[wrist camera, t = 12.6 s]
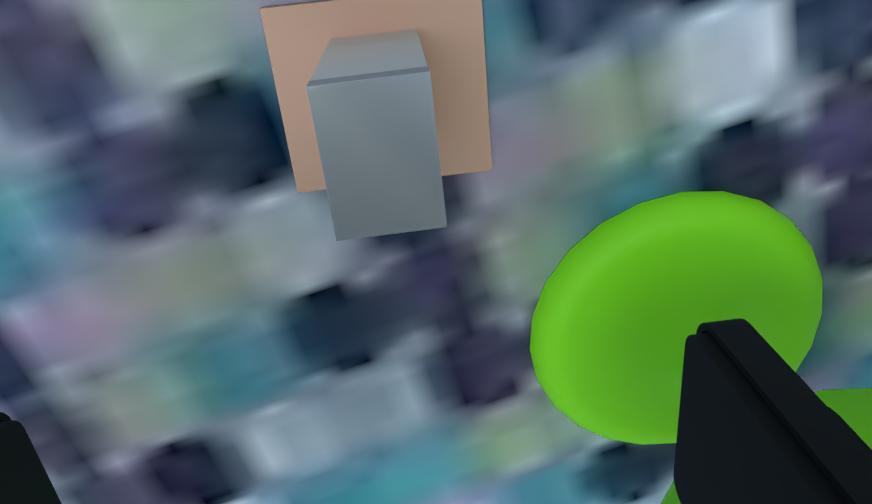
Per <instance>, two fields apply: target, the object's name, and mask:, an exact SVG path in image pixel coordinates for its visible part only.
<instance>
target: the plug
mask: <svg viewBox="0 0 872 504" xmlns="http://www.w3.org/2000/svg"><path fill="white" fill-rule="evenodd" d="M306 88H307V94H308V99H309V104H310V109H311V114H312V119H313V124H314V129H315V134H316V139H317V144H318V149H319V154H320V160H321V165H322V170H323V175H324V180H325V185H326V190H327V195H328V200H329V205H330V210H331V215H332V220H333V226H334V231H335V236H336V241H341V240H348V239H356V238H364V237H372V236H380V235H388V234H395V233H403V232H411V231H419V230H427V229H435V228H442V227H447V221H446V212H445V203H444V194H443V185H442V176H441V167H440V158H439V149H438V140H437V131H436V122H435V113H434V104H433V95H432V86H431V77H430V70H429V67H428V66H427V63H426V59H425V56H424V52H423V49H422V46H421V42H420V39H419V35H418V32H417V29H416V28H414V29H406V30H397V31H389V32H381V33H373V34H365V35H357V36H349V37H341V38H333V39H330V40H329V42H328V44H327V46H326V48H325V51H324V53H323V55H322V57H321V59H320V61H319V63H318V65H317V67H316V69H315V72H314V74H313V76H312V78H311V80H310V81H309V82H308V84H307V86H306Z"/></svg>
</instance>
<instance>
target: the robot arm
mask: <svg viewBox="0 0 872 504" xmlns="http://www.w3.org/2000/svg"><path fill="white" fill-rule="evenodd" d="M674 484H675V488H676V492H677V495H678V498H679V500H680V502H681V504H872V450H871V448H870V447H869V446H868V445H867V444H866V443H865V442H864V441H863V440H862V439H861V438H860V437H859V436H858V435H857V434H856V432H855V431H854V430H853V429H852V428H851V427H850V426H849V425H848V424H847V423H846V422H845V421H844V420H843V419H842V418H841V417H840V415H838V414H837V413H836V412H835V411H834V410H832V409H831V408H830V407H827V406H826V405H825V404H824V403H823V401H822V400H821V399H820V398H819V397H818V396H817V395H816V394H815V393H814V392H813V391H812V390H811V389H810V388H809V386H808V385H807V384H806V383H805V382H804V381H803V380H802V379H801V378H800V377H799V376H798V375H797V374H796V372H795V371H794V370H793V369H792V368H791V367H790V366H789V365H788V364H787V363H786V362H785V361H784V360H783V359H782V357H781V356H780V355H779V354H778V353H777V352H776V351H775V350H774V349H773V348H772V347H771V346H770V345H769V343H768V342H767V341H766V340H765V339H764V338H763V337H762V336H761V335H760V334H759V333H758V332H757V331H756V330H755V328H754V327H753V326H752V325H751V324H750V323H749V322H748V321H746V320H745V319H741V318H738V319H730V320H722V321H714V322H706V323H702V324H700V325H699V327H698V328H697V332H696V334H693V335H689V336H688V337H687V338H686V342H685V350H684V361H683V373H682V384H681V395H680V407H679V418H678V430H677V441H676V453H675V464H674ZM0 504H61V502H60V500H59V498H58V496H57V494H56V492H55V489H54V487H53V485H52V483H51V481H50V479H49V477H48V475H47V473H46V471H45V469H44V467H43V465H42V463H41V461H40V459H39V457H38V455H37V453H36V451H35V449H34V447H33V445H32V443H31V441H30V439H29V437H28V435H27V433H26V431H25V428H24V427H23V426H22V424H21V423H19V422H18V421H12V420H11V419H10V417H9V416H8V415H6V414H5V413H3V412H0Z"/></svg>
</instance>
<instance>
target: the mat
mask: <svg viewBox="0 0 872 504" xmlns="http://www.w3.org/2000/svg"><path fill="white" fill-rule="evenodd" d="M260 13H261V18H262V23H263V28H264V33H265V37H266V42H267V47H268V52H269V57H270V62H271V66H272V71H273V76H274V81H275V86H276V90H277V95H278V100H279V105H280V110H281V115H282V119H283V124H284V129H285V134H286V139H287V144H288V148H289V153H290V158H291V163H292V168H293V173H294V177H295V182H296V187H297V192H298V193H300V192H309V191H317V190H326V185H325V180H324V175H323V170H322V165H321V160H320V154H319V149H318V144H317V139H316V134H315V129H314V124H313V119H312V114H311V109H310V104H309V99H308V94H307V88H306V86H307V84H308V82H309V81H310V80H311V78H312V76H313V74H314V72H315V69H316V67H317V65H318V63H319V61H320V59H321V57H322V55H323V53H324V51H325V48H326V46H327V44H328V42H329V40H330V39H333V38H341V37H349V36H357V35H365V34H373V33H381V32H389V31H397V30H406V29H414V28H416V29H417V32H418V35H419V39H420V42H421V46H422V49H423V52H424V56H425V59H426V63H427V66H428V67H429V70H430V77H431V86H432V95H433V104H434V113H435V122H436V131H437V140H438V149H439V158H440V167H441V176H446V175H454V174H463V173H472V172H480V171H489V170H492V156H491V139H490V123H489V107H488V91H487V75H486V59H485V43H484V27H483V11H482V0H321V1H312V2H303V3H294V4H285V5H276V6H267V7H261V8H260Z"/></svg>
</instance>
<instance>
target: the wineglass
mask: <svg viewBox="0 0 872 504" xmlns="http://www.w3.org/2000/svg"><path fill="white" fill-rule="evenodd" d="M822 294H823V279H822V275H821V272H820V269H819V266H818V264H817V261H816V258H815V255H814V252H813V249H812V246H811V244H810V243H809V242H808V241H807V239H806V238H805V237H804V236H803V234H802V233H801V232H800V231H799V229H798V228H797V227H796V226H795V224H794V223H793V222H792V221H791V219H790V218H788V217H786V216H785V215H783V214H781V213H780V212H778V211H776V210H775V209H773V208H772V207H770V206H768V205H767V204H765V203H763V202H762V201H760V200H756V199H752V198H748V197H744V196H740V195H736V194H732V193H728V192H724V191H704V192H679V193H676V194H672V195H668V196H664V197H661V198H657V199H653V200H649V201H646V202H642V203H639V204H637V205H635V206H633V207H631V208H629V209H627V210H626V211H624V212H622V213H620V214H618V215H616V216H614V217H612V218H610V219H608V220H607V221H605V222H603V223H601V224H600V225H598V226H597V227H596V228H595V229H594V230H593V231H591V232H590V233H589V234H588V235H587V236H586V237H584V238H583V239H582V240H581V241H580V242H579V243H577V244H576V245H575V246H574V247H573V248H572V249H570V250H569V251H568V253H567V254H566V255H565V257H564V258H563V259H562V261H561V262H560V264H559V265H558V266H557V268H556V269H555V270H554V272H553V273H552V274H551V276H550V277H549V279H548V280H547V281H546V283H545V285H544V288H543V290H542V293H541V295H540V298H539V301H538V303H537V306H536V308H535V311H534V313H533V316H532V326H531V338H530V353H531V357H532V361H533V365H534V370H535V374H536V378H537V380H538V382H539V383H540V385H541V386H542V388H543V390H544V391H545V393H546V394H547V396H548V397H549V399H550V401H551V402H552V404H553V405H554V406H555V407H556V408H558V409H559V410H560V411H561V412H562V413H564V414H565V415H566V416H567V417H568V418H570V419H571V420H572V421H573V422H575V423H576V424H577V425H578V426H580V427H582V428H585V429H587V430H589V431H591V432H594V433H596V434H598V435H601V436H603V437H605V438H607V439H611V440H617V441H623V442H629V443H635V444H641V445H645V444H666V443H676V441H677V430H678V418H679V407H680V395H681V384H682V373H683V361H684V350H685V342H686V338H687V337H688V336H689V335H693V334H696V332H697V328H698V327H699V325H700V324H702V323H706V322H714V321H722V320H730V319H738V318H741V319H745V320H746V321H748V322H749V323H750V324H751V325H752V326H753V327H754V328H755V330H756V331H757V332H758V333H759V334H760V335H761V336H762V337H763V338H764V339H765V340H766V341H767V342H768V343H769V345H770V346H771V347H772V348H773V349H774V350H775V351H776V352H777V353H778V354H779V355H780V356H781V357H782V359H783V360H784V361H785V362H786V363H787V364H788V365H789V366H790V367H791V368H792V369H793V370H794V371H795V372H796V371H797V369H798V368H799V366H800V365H801V363H802V361H803V360H804V358H805V356H806V355H807V353H808V352H809V350H810V348H811V347H812V344H813V341H814V338H815V335H816V332H817V328H818V325H819V322H820V319H821V316H822ZM814 393H815V394H816V395H817V396H818V397H819V398H820V399H821V400H822V401H823V403H824V404H825V405H826V406H827V407H830V408H831V409H832V410H834V411H835V412H836V413H837V414H838V415H840V417H841V418H842V419H843V420H844V421H845V422H846V423H847V424H848V425H849V426H850V427H851V428H852V429H853V430H854V431H855V432H856V434H857V435H858V436H859V437H860V438H861V439H862V440H863V441H864V442H865V443H866V444H867V445H868V446H869V447H870V448H871V450H872V388H855V389H832V390H822V391H818V392H814ZM661 504H681V502H680V500H679V498H678V495H677V492H676V488H675V484H674V481H673V483H672V485H671V486H670V488H669V490H668V492H667V493H666V495H665V497H664V499H663V500H662V502H661Z"/></svg>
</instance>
